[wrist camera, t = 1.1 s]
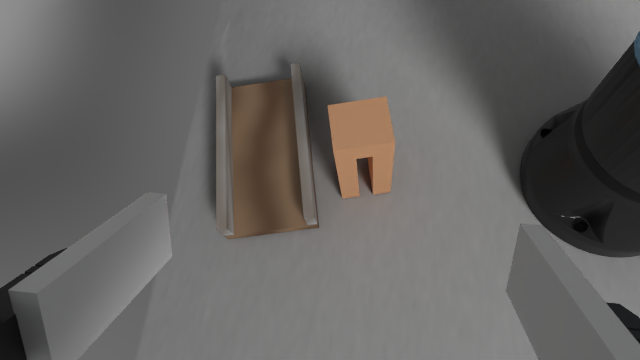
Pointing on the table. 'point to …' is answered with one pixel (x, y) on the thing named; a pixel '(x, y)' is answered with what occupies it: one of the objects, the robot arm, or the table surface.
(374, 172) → the clip
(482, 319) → the table surface
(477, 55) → the table surface
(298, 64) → the rail
